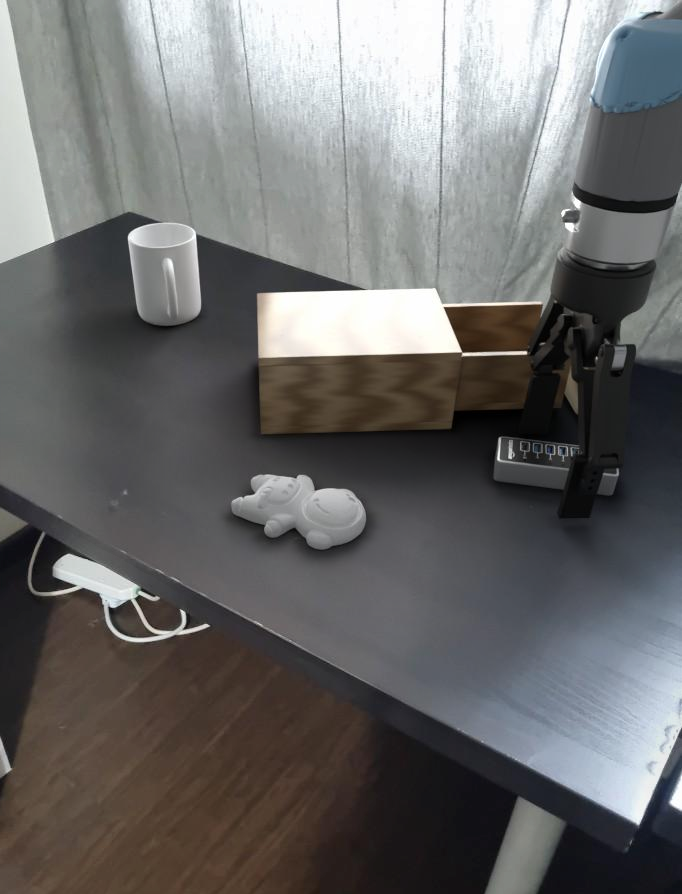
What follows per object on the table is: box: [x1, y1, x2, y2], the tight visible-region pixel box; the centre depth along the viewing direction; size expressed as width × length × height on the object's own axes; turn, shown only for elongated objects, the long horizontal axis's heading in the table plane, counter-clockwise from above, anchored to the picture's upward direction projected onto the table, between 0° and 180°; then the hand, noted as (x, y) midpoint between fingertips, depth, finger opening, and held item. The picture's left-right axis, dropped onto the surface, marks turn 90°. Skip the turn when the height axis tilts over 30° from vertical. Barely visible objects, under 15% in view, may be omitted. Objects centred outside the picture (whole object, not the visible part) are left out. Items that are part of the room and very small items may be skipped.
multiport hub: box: [492, 436, 620, 496], centre depth 79 cm, size 4×11×2 cm, turn 76°
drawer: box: [442, 301, 596, 415], centre depth 89 cm, size 20×14×7 cm
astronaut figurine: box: [230, 473, 367, 551], centre depth 74 cm, size 9×12×3 cm
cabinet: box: [256, 287, 462, 435], centre depth 88 cm, size 20×15×9 cm
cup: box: [127, 222, 202, 327], centre depth 103 cm, size 8×12×10 cm
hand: (551, 471), depth 79 cm, fingers open, 13 cm apart
